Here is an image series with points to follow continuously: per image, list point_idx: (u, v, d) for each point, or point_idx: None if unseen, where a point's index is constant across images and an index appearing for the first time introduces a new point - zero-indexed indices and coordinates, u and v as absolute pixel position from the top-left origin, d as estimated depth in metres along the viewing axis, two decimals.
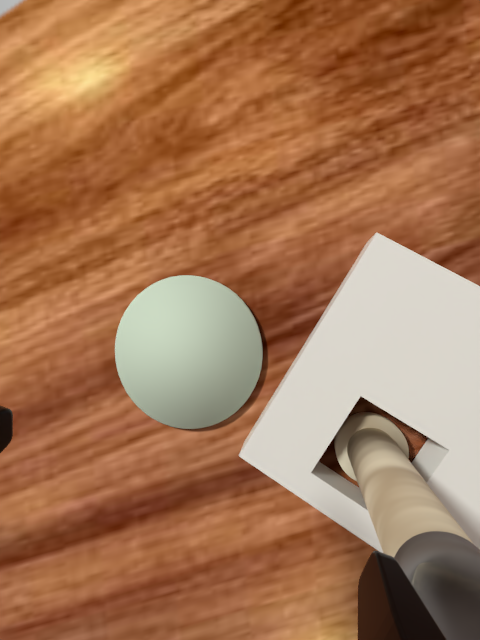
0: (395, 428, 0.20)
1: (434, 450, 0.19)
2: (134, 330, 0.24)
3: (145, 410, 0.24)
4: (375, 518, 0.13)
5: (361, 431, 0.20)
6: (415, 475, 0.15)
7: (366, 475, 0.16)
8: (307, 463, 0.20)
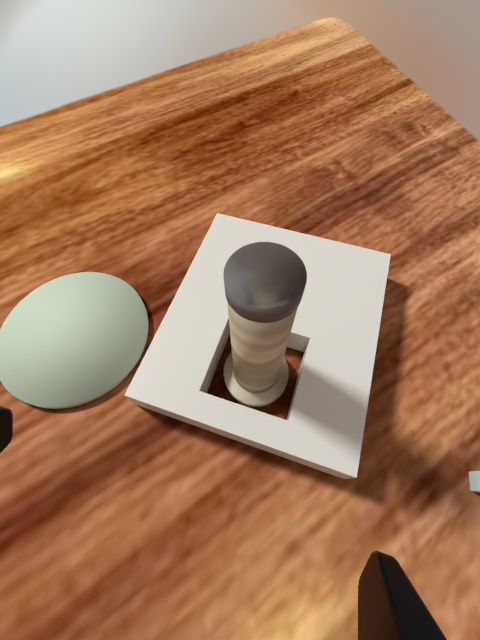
0: None
1: (305, 352, 0.22)
2: (19, 324, 0.24)
3: (22, 398, 0.21)
4: None
5: None
6: None
7: None
8: (194, 382, 0.20)
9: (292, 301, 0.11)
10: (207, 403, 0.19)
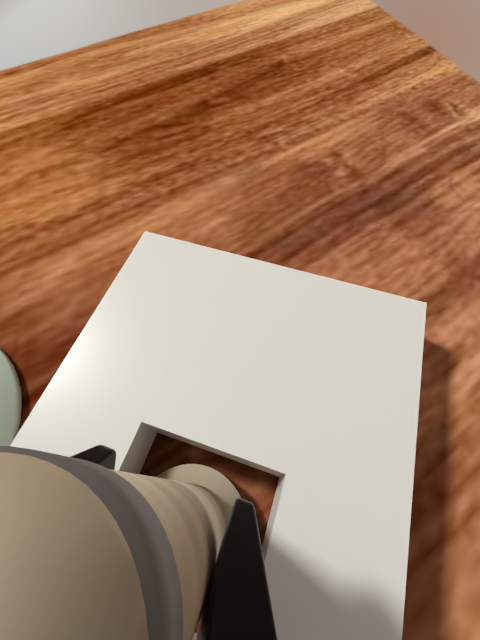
0: (217, 475, 0.13)
1: (278, 492, 0.12)
2: None
3: None
4: None
5: None
6: (165, 479, 0.07)
7: None
8: None
9: None
10: None
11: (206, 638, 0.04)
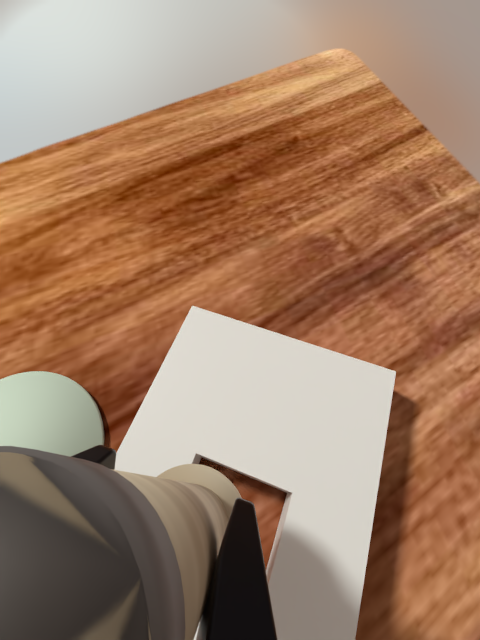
0: (218, 475, 0.13)
1: (286, 504, 0.18)
2: None
3: None
4: None
5: None
6: (166, 479, 0.07)
7: None
8: None
9: None
10: None
11: (206, 638, 0.04)
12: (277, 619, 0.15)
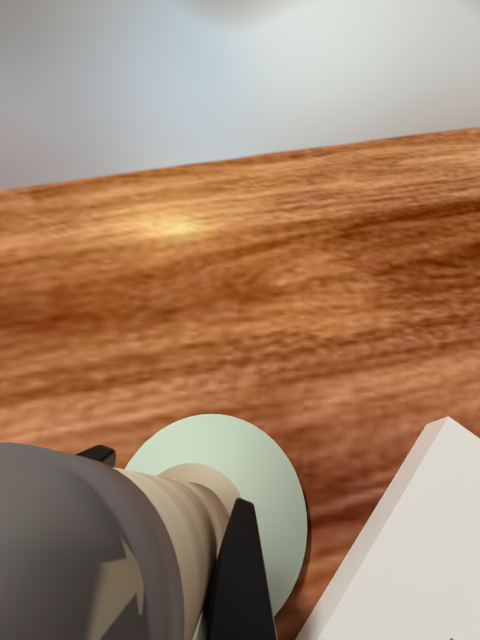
0: (217, 474, 0.13)
1: None
2: (148, 470, 0.19)
3: None
4: None
5: None
6: (165, 477, 0.07)
7: None
8: None
9: None
10: None
11: (206, 638, 0.04)
12: None
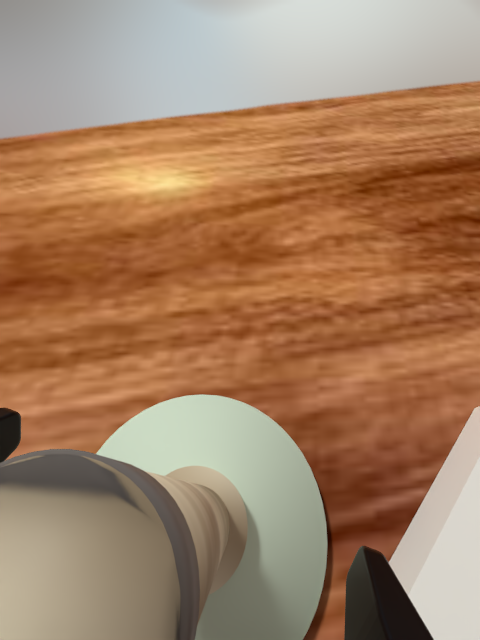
0: (219, 476, 0.13)
1: None
2: None
3: None
4: None
5: None
6: (174, 478, 0.08)
7: None
8: None
9: None
10: None
11: None
12: None
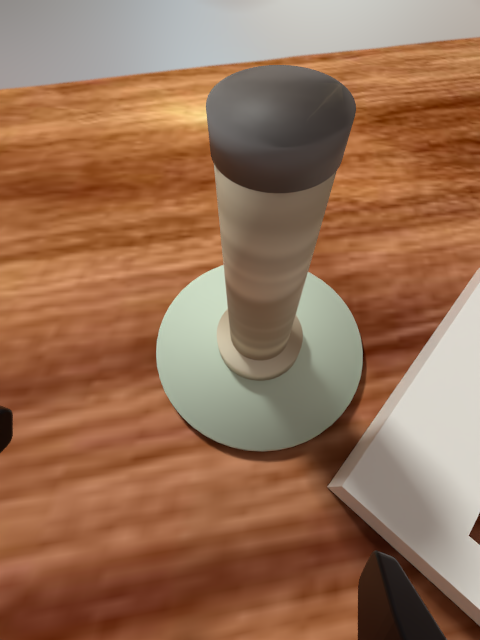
0: None
1: None
2: (195, 305, 0.18)
3: (180, 409, 0.16)
4: (220, 229, 0.10)
5: None
6: None
7: None
8: (460, 516, 0.12)
9: (332, 137, 0.06)
10: None
11: None
12: None
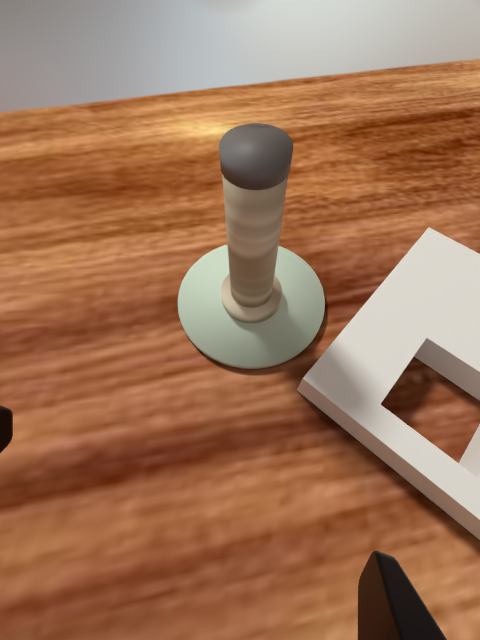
0: None
1: None
2: (205, 273, 0.25)
3: (196, 341, 0.22)
4: (225, 212, 0.17)
5: None
6: None
7: None
8: (376, 394, 0.18)
9: (279, 163, 0.13)
10: (387, 421, 0.18)
11: None
12: None
